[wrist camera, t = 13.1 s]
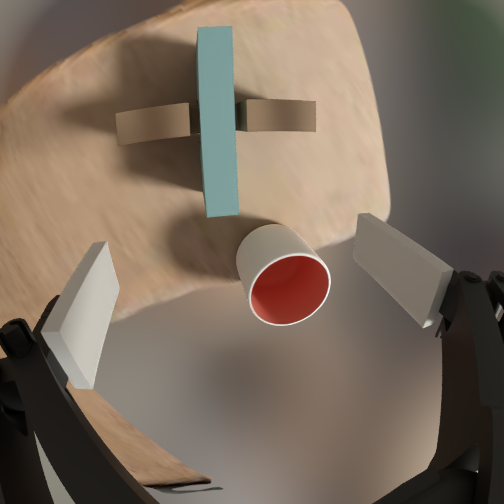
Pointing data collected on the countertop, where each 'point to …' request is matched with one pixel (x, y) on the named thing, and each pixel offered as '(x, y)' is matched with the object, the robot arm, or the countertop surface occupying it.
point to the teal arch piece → (217, 120)
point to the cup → (281, 275)
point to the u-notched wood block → (187, 119)
